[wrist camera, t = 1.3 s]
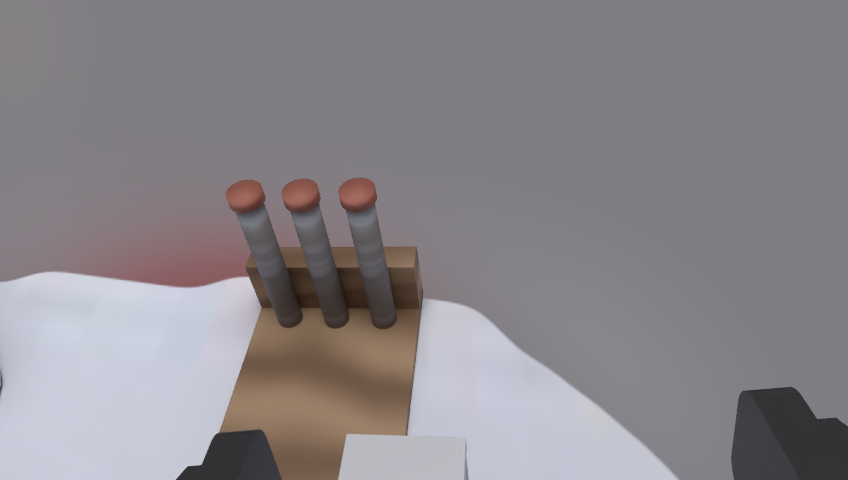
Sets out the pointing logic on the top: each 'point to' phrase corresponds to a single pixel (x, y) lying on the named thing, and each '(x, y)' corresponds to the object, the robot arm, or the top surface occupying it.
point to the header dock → (324, 330)
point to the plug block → (403, 458)
